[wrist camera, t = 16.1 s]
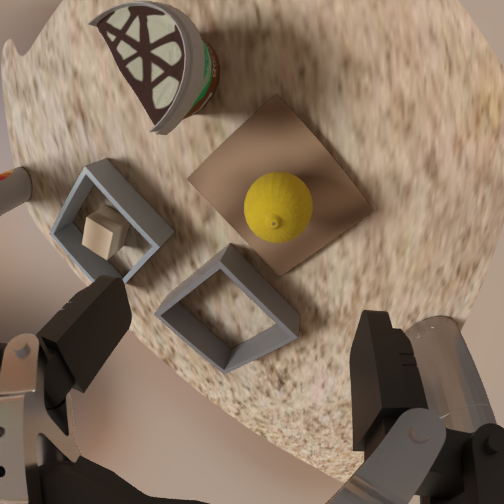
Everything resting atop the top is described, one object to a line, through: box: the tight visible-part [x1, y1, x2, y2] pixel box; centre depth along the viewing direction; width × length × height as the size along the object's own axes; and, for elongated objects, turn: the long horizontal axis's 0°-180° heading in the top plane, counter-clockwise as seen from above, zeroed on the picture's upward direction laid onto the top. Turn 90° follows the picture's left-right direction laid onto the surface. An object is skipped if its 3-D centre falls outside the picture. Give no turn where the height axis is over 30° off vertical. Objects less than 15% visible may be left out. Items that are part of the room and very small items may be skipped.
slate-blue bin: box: [50, 158, 175, 284], centre depth 32 cm, size 12×12×4 cm
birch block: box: [82, 205, 130, 260], centre depth 32 cm, size 4×4×4 cm
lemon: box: [244, 172, 313, 243], centre depth 24 cm, size 6×6×8 cm
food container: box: [88, 1, 220, 135], centre depth 20 cm, size 12×6×10 cm, turn 30°
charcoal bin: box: [154, 244, 300, 374], centre depth 34 cm, size 12×12×4 cm
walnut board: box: [187, 94, 374, 277], centre depth 28 cm, size 14×12×1 cm
